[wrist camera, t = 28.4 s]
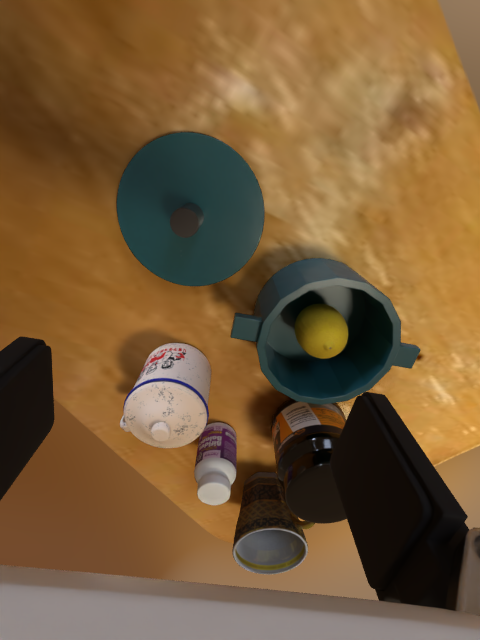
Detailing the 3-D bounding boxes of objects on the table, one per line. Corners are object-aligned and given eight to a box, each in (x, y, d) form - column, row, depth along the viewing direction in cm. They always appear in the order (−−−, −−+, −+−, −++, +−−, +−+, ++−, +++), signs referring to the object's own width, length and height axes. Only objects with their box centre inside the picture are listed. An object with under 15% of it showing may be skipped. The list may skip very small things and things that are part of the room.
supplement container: (286, 381, 44) (304, 451, 33) (356, 401, 45) (395, 474, 34) (259, 438, 48) (266, 517, 37) (323, 454, 49) (349, 535, 38)
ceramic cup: (259, 515, 55) (264, 583, 45) (219, 484, 51) (216, 551, 42) (322, 478, 51) (341, 544, 42) (284, 443, 48) (296, 506, 39)
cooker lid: (124, 117, 31) (99, 104, 25) (278, 152, 32) (288, 148, 27) (117, 269, 37) (95, 286, 31) (247, 293, 38) (249, 314, 33)
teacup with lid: (185, 327, 40) (167, 382, 29) (226, 378, 43) (224, 445, 33) (112, 372, 42) (71, 438, 32) (156, 417, 46) (132, 491, 35)
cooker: (245, 242, 36) (248, 259, 28) (409, 275, 38) (451, 299, 30) (222, 351, 41) (220, 389, 34) (366, 375, 43) (393, 416, 36)
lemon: (281, 326, 40) (292, 360, 32) (303, 286, 38) (320, 314, 30) (320, 342, 41) (339, 379, 33) (344, 304, 39) (369, 335, 31)
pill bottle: (218, 414, 46) (214, 471, 37) (243, 435, 47) (245, 495, 38) (191, 434, 47) (182, 493, 38) (217, 454, 49) (213, 515, 40)
